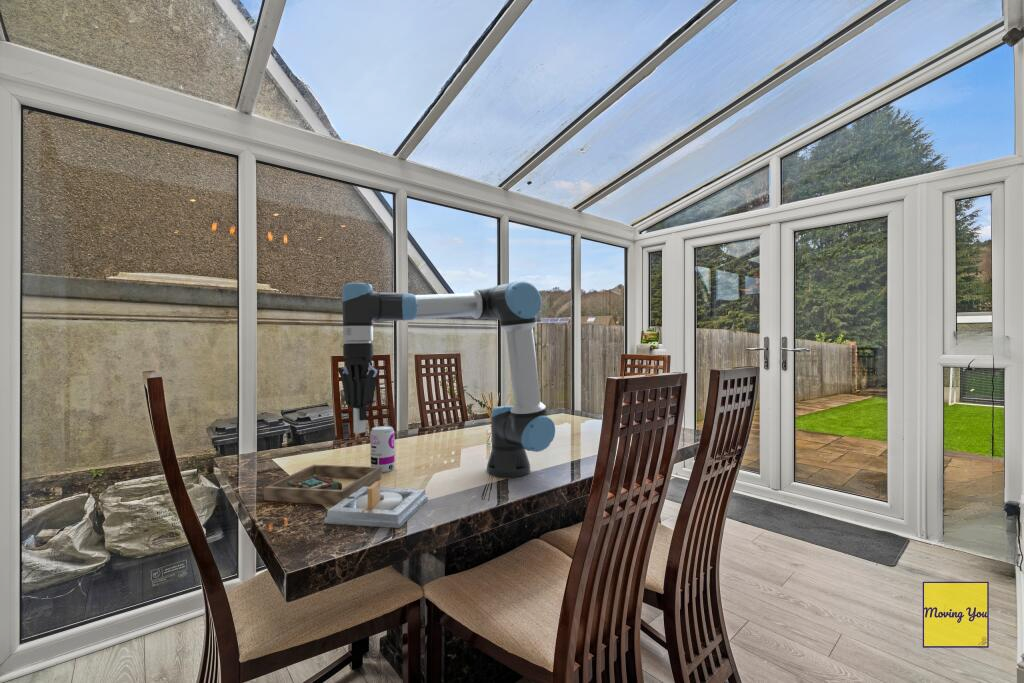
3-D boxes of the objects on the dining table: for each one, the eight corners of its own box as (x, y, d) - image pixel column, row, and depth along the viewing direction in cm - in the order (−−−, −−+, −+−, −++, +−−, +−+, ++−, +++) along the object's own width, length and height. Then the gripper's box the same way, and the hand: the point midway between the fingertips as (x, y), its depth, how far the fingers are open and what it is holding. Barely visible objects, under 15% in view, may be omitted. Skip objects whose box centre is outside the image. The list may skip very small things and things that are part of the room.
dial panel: (427, 499, 133) (427, 488, 133) (399, 528, 113) (399, 514, 113) (362, 496, 136) (362, 485, 136) (324, 523, 116) (324, 510, 116)
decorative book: (311, 483, 150) (311, 467, 150) (343, 493, 140) (343, 477, 140) (270, 494, 140) (270, 478, 140) (301, 506, 129) (301, 489, 129)
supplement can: (398, 467, 167) (397, 425, 166) (389, 474, 158) (389, 430, 158) (376, 466, 167) (375, 425, 167) (366, 473, 159) (366, 430, 159)
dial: (366, 497, 131) (365, 473, 131) (407, 497, 130) (407, 474, 130) (347, 514, 118) (346, 488, 118) (393, 515, 118) (392, 489, 117)
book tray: (381, 479, 152) (381, 467, 152) (342, 506, 128) (342, 491, 128) (314, 476, 157) (314, 464, 157) (264, 501, 133) (263, 487, 132)
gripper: (329, 342, 121) (331, 432, 121) (364, 342, 114) (366, 437, 115) (352, 342, 127) (353, 427, 128) (387, 342, 121) (388, 431, 121)
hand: (359, 432), depth 121 cm, fingers closed
